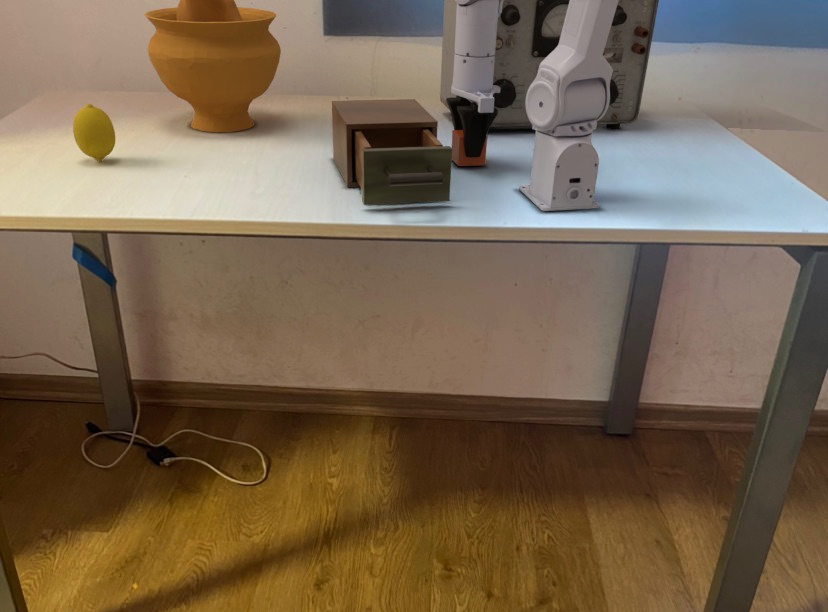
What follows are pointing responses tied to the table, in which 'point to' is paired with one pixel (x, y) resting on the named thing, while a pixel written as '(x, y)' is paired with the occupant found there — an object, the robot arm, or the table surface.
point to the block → (459, 151)
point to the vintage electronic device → (538, 36)
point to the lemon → (94, 132)
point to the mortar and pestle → (214, 59)
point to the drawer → (401, 165)
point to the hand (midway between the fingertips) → (468, 152)
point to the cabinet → (372, 125)
